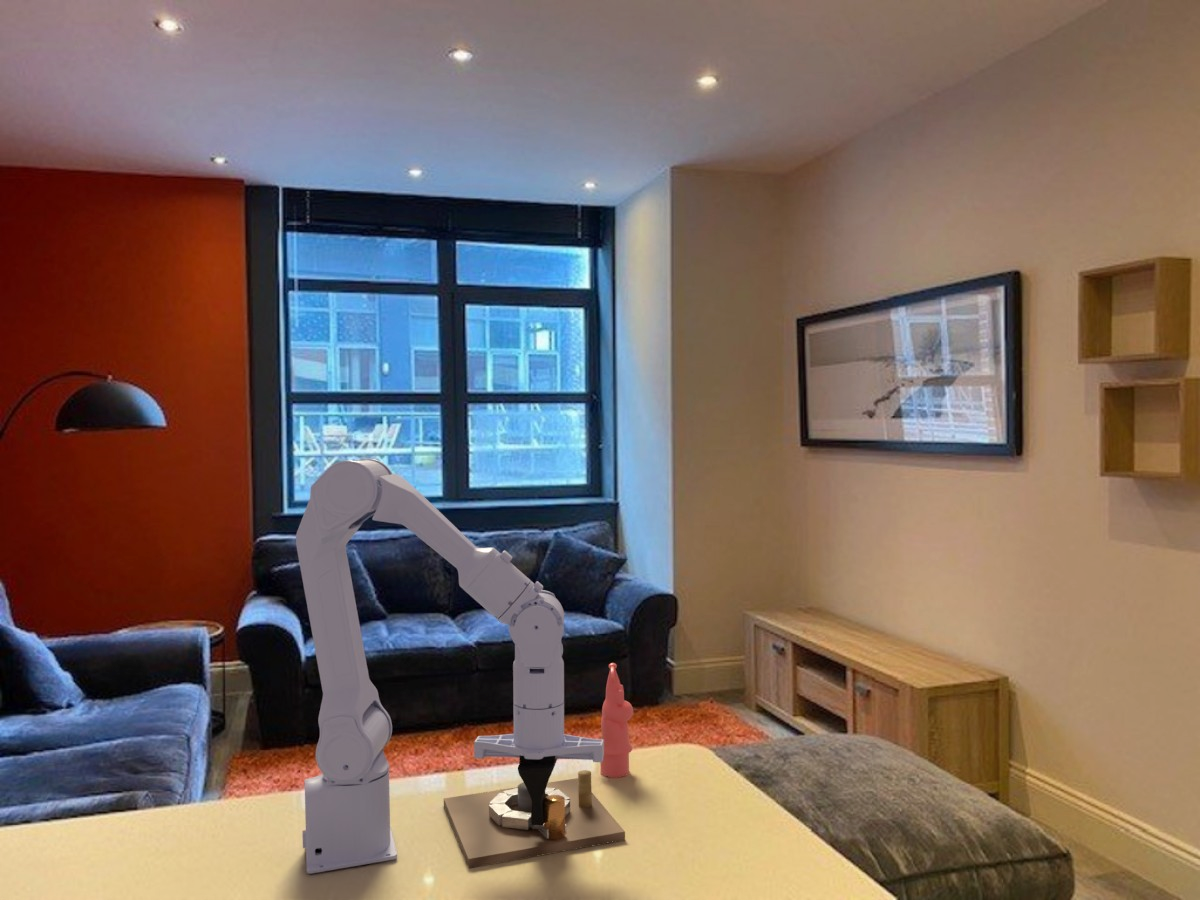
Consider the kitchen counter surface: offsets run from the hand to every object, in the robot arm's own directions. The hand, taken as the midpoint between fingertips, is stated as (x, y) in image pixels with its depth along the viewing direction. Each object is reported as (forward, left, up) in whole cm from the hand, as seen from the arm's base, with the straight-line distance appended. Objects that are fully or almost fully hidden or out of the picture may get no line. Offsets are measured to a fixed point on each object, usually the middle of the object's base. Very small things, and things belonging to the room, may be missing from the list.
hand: (539, 821), depth 99 cm
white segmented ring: (+1, +5, -1) cm, 5 cm away
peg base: (+1, +6, -3) cm, 7 cm away
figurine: (+16, +17, -3) cm, 24 cm away
